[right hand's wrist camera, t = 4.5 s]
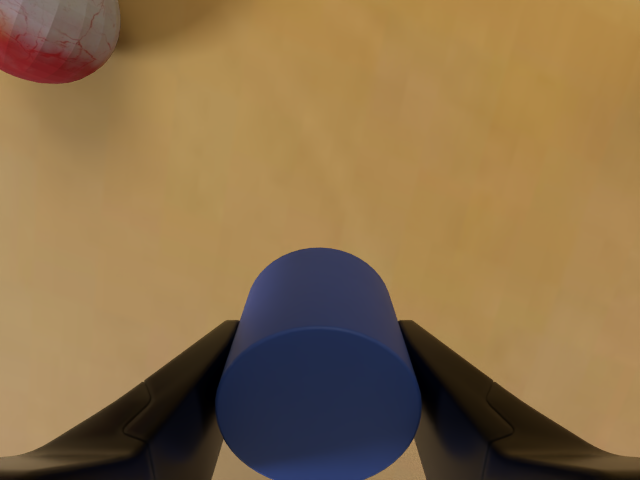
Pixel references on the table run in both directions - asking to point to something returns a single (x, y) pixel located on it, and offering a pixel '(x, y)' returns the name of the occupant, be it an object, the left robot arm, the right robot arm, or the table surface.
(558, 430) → the right robot arm
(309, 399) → the can
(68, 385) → the table surface
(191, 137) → the table surface
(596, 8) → the table surface
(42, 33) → the eyeball
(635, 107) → the table surface
